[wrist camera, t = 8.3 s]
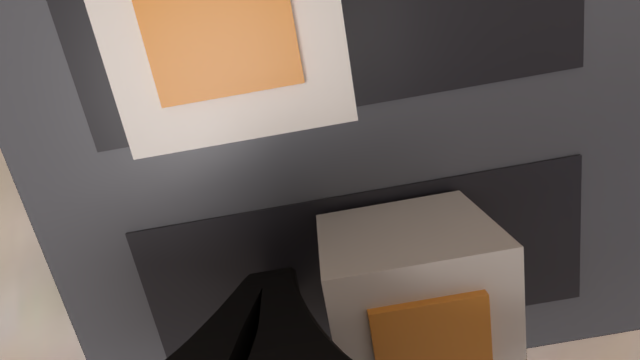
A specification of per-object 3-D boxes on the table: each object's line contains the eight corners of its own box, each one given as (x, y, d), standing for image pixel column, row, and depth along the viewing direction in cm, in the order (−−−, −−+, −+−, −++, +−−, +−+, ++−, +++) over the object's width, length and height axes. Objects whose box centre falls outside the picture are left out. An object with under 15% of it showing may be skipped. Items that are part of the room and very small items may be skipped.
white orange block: (459, 190, 11) (528, 251, 8) (468, 313, 13) (532, 414, 9) (316, 215, 12) (321, 286, 8) (338, 335, 13) (351, 444, 9)
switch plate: (654, -214, 10) (702, -251, 9) (625, 305, 15) (655, 329, 13) (-56, -82, 11) (-105, -101, 9) (125, 389, 15) (109, 420, 14)
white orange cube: (314, -77, 9) (320, -155, 6) (340, 99, 11) (359, 122, 7) (140, -46, 9) (44, -105, 6) (186, 126, 11) (128, 163, 7)
